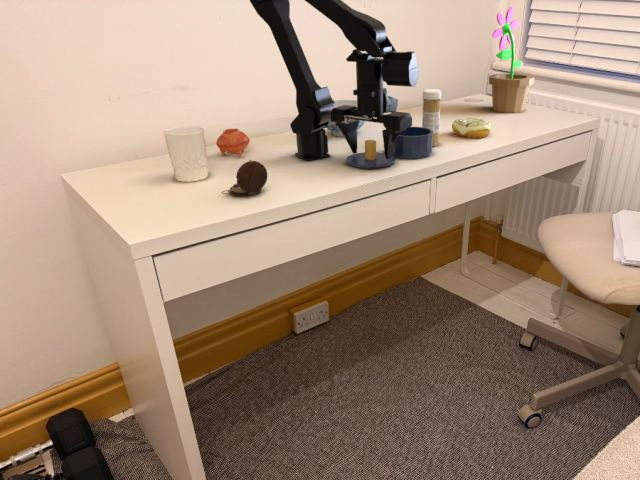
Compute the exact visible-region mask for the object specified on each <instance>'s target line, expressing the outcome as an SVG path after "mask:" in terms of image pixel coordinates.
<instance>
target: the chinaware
mask: <svg viewBox="0 0 640 480" xmlns="http://www.w3.org/2000/svg"><path fill="white" fill-rule="evenodd" d="M332 100H333V101H334V102H335V104H333V106H334V108H336V107H339V106H343V105H348V106H356V107H357V99H356V100H355V99H336V100H335V99H332ZM364 117H368V116H364ZM335 123H337V122H332V121H331V120H329V124H328V127H327V128H326V129H328V130H329V131H331V135H332V136H335V137H344V135H343V134H342V132H341V130H340V129H339V127H338V126H336V125H335ZM365 123H366V121H362V120H360V121H359V124H358V126H357V131H358V130H359V129H360V128H361V127H363V126H364V124H365Z"/></svg>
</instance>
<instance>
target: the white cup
mask: <svg viewBox="0 0 640 480" xmlns="http://www.w3.org/2000/svg"><path fill="white" fill-rule="evenodd" d="M163 135H164V139H165V143H166V148H167V151H168V152H167V153H168V155H169V160H170V163H171V167H172V168H173V174H174V177H175V179H176V181H179V182H183V183H187V182H188V183H190V182H198V181H202V180H205V179H207V178H208V177H209V169H208V158H207V148H206V147H207V145H206V137H205V129H204V127H201V126H195V125H193V126H192V125H189V126H188V125H186V126H185V125H183V126H175V127H171V128H170V127H169V128H167V129H166V130H163Z"/></svg>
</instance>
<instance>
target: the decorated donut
mask: <svg viewBox="0 0 640 480" xmlns="http://www.w3.org/2000/svg"><path fill="white" fill-rule="evenodd" d="M451 129H452V132H453V133H454V134H455V135H456V136H458V137H462V138H466V139H470V138H471V139H476V138H480V139H481V138H484V137H487V136H489V134H490V131H491V129H492V124H491V123H490V122H489V121H487V120H485V119H482V118H478V117H477V118H476V117H465V118H457V119H455V120H453V121H452V123H451Z"/></svg>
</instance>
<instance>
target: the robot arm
mask: <svg viewBox="0 0 640 480" xmlns="http://www.w3.org/2000/svg"><path fill="white" fill-rule="evenodd" d="M304 1H305V2H306V3H307V4H309V5H310V6H311V7H312V8H314V9H315V10H317V11H318V12H319V13H320V14H322V15H323V16H325V17H326V18H327V19H329V20H330V21H331V22H332V23H334V25H336V26H337V27H338V28H339V29H340V30H341V32H342V34H343V35H344V37H345V38H346V40H347V41H348V42H349V43H350V44H351V45H352V46H353V47H354V49H353V50H352V52H351V53H350V54H349V55H348V56H347V57H346V59H345V61H346V62H348V63H349V62H352V63H353V62H354V63H355V76H356V77H355V78H356V79H355V80H356V89H353V90H352V95H353V96H356V100H357V107H356V106H348V105H343V106H339V107H336V108H334V106H333V104H335V102H334V101H333V100H334V99H333V98H332V95H331V92H330V89H329V87H328V86H326V85H325V86H323V87H321V86H320V84H319V83H317V81H316V79H315V76H314V74H313V72H312V69H311V67H310V64H309V62H308V59H307V57H306V55H305V52H304V50H303V47H302V45H301V42H300V40H299V38H298V36H297V33H296V30H295V28H294V26H293V23H292V20H291V17H290V14H291V10H290V9H291V3H290V0H249V2H250V4H251V6H252V8H253V9H254V10H255V12H256V14H257V15H258V16H259V17H260V18H261V19H262V20H263V21H264V22H265V23H266V24H267V26H268V27H269V29H270V31H271V34H272V36H273V39H274V41H275V43H276V46H277V48H278V50H279V53H280V55H281V57H282V60H283V62H284V65H285V66H286V67H285V68H286V69H287V71H288V74H289V76H290V79H291V82H292V83H293V86H294V88H295V105H296V109H297V113H298V114H297V116H296V117H295V118H294V119H293V120H292V121H291V123H290V124H289V126H290V129H291V131H292V133H293V134H294V135H295V136H296V149H297V152H294V156H295V157H297V158H300V159H301V160H304V161H308V162H309V161H313V160H314V161H315V160H319V159H326V158H330V157H331V154H330V153H329V141H328V139H329V138H328V137H329V136H328V135H327V134H326V129H328V128H327V127H328V124H329V120H331V121H332V122H337V123H335V125H336V126H338V127H339V129H340V130H341V132H342V134H343V135H344V136H343V137H344V139H345V140H346V142H347V144H348V147H349V148H350V150H351V152H352V154H357V153H358V130H357V126H358V124H359V121H360V120H362V121H365V122H369V123H370V122H371V123H378V124H382V125H383V127H384V129H382V142H383V150H384V152H383V153H385V157H386V159H389V158H390V156H391V153H392V150H393V147H394V145H395V142H396V139H397V137H398V135H399V134H400V133H401V131H404V130H406V129H407V128H408V127H413V117H412V115H411V113H410V112H403V111H398V105H399V104H398V103H399V99H397V98H395V97H393V96H390V95H388V90H387V87H384V83H385V84H386V85H387V86H391V87H392V86H393V87H409V88H411V87H412V88H414V87H415V86H416V85H417V83H418V79H419V74H420V73H419V71H420V68H419V66H418V65H419V64H418V61H417V58H416V52H415V51H411V50H409V51H397V50H396V48H395V47H394V44H393V43H392V42H391V40H390V39H389V37H388V36H387V30H386V26H385V24H384V23H383V22H382V21H380V20H379V19H378V18H375V17H372V16H370V15H368V14H366V13H364V12H361V11H358V10H356V9H354V8H352V7H350V6H349V5H348V4H347V3H345V2H344V1H343V0H304ZM364 116H368V117H364Z"/></svg>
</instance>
